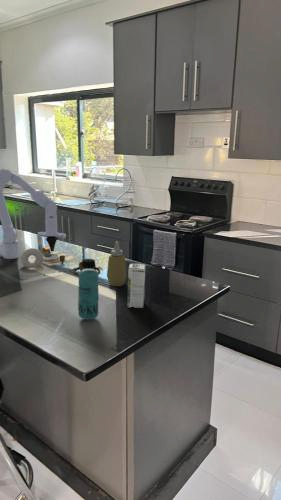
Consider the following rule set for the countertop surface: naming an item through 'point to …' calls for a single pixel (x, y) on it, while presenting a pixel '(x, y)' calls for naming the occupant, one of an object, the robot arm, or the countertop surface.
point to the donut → (31, 252)
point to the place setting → (62, 259)
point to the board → (57, 261)
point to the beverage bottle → (88, 290)
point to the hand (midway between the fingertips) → (52, 251)
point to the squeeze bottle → (116, 267)
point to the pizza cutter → (49, 255)
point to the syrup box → (136, 285)
